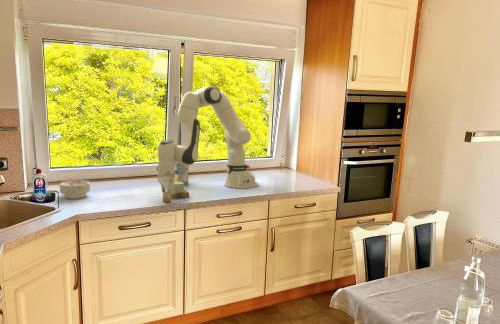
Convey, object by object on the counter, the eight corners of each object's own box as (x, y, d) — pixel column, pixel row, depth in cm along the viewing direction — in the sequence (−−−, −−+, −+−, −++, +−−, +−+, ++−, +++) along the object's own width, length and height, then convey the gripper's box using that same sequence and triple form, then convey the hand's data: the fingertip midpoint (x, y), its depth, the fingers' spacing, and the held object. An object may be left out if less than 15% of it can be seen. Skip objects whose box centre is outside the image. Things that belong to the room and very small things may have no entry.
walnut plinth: (183, 192, 226) (183, 188, 226) (189, 197, 218) (189, 192, 217) (167, 194, 222) (167, 189, 221) (172, 198, 213) (172, 194, 213)
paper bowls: (82, 191, 220) (81, 178, 219) (95, 196, 211) (95, 183, 209) (55, 196, 209) (54, 182, 207) (68, 202, 199) (67, 187, 198)
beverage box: (177, 186, 241) (178, 151, 236) (173, 182, 250) (173, 149, 246) (188, 185, 244) (188, 151, 239) (183, 181, 253) (183, 148, 249)
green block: (184, 192, 218) (184, 183, 217) (174, 192, 216) (174, 184, 215) (181, 189, 223) (181, 181, 222) (172, 190, 220) (172, 182, 219)
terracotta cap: (169, 200, 211) (169, 191, 210) (172, 202, 207) (172, 193, 206) (161, 200, 209) (161, 192, 208) (164, 203, 205) (164, 194, 204)
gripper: (177, 173, 197) (177, 199, 200) (166, 166, 215) (166, 189, 217) (165, 174, 194) (165, 200, 197) (155, 166, 212) (155, 190, 214)
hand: (166, 194), depth 207 cm, fingers open, 8 cm apart
